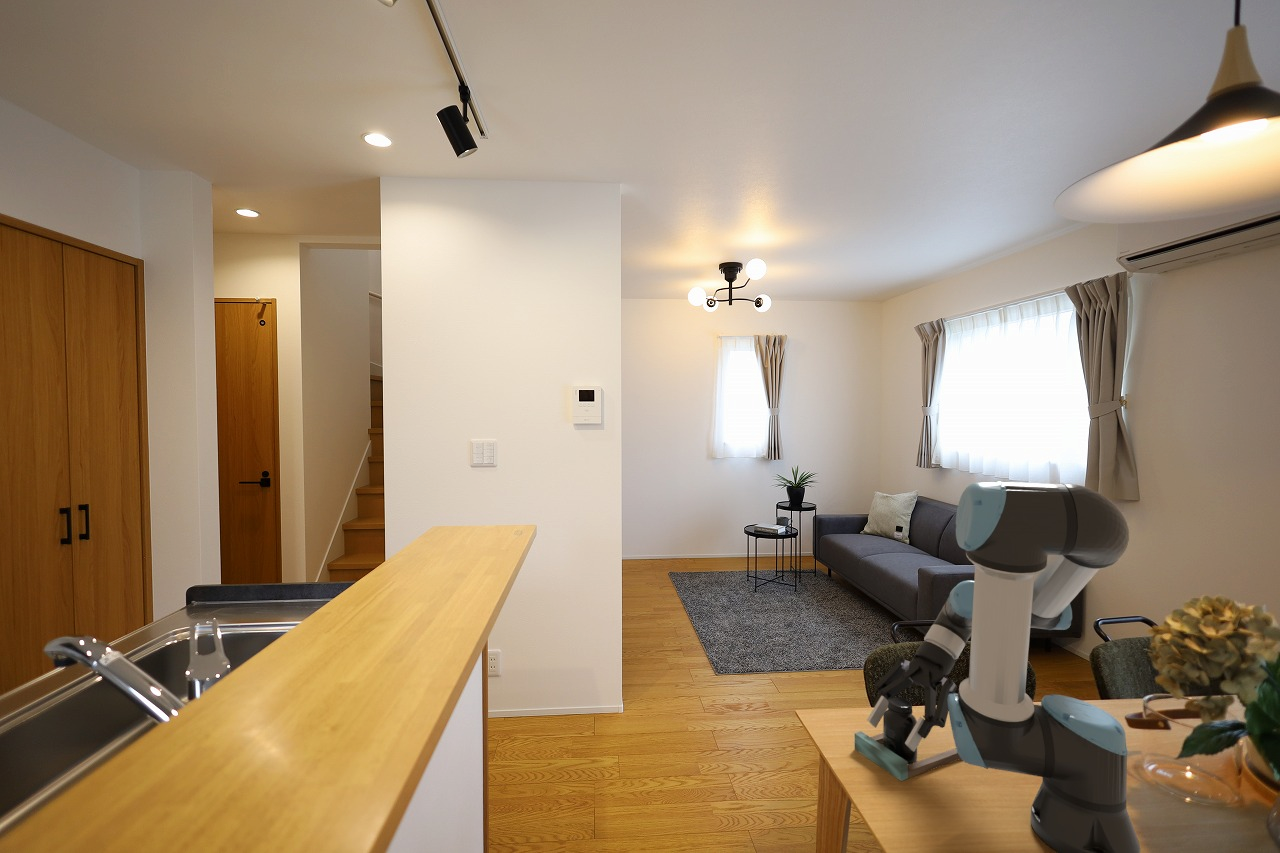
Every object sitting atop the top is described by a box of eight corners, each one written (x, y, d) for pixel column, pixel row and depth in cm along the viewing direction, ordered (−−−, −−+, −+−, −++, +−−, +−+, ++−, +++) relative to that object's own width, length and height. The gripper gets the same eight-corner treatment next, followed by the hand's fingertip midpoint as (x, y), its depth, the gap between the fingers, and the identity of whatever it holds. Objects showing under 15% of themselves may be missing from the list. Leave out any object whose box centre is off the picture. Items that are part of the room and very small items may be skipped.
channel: (966, 756, 122) (966, 740, 122) (900, 781, 114) (900, 764, 114) (917, 728, 134) (917, 713, 134) (854, 748, 126) (854, 733, 126)
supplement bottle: (921, 767, 119) (921, 711, 119) (887, 763, 120) (887, 708, 120) (912, 748, 125) (912, 696, 125) (880, 745, 127) (880, 693, 127)
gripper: (994, 680, 119) (943, 773, 112) (906, 642, 139) (859, 719, 133) (978, 659, 117) (925, 753, 110) (891, 625, 137) (842, 702, 130)
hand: (889, 735), depth 121 cm, fingers open, 9 cm apart
